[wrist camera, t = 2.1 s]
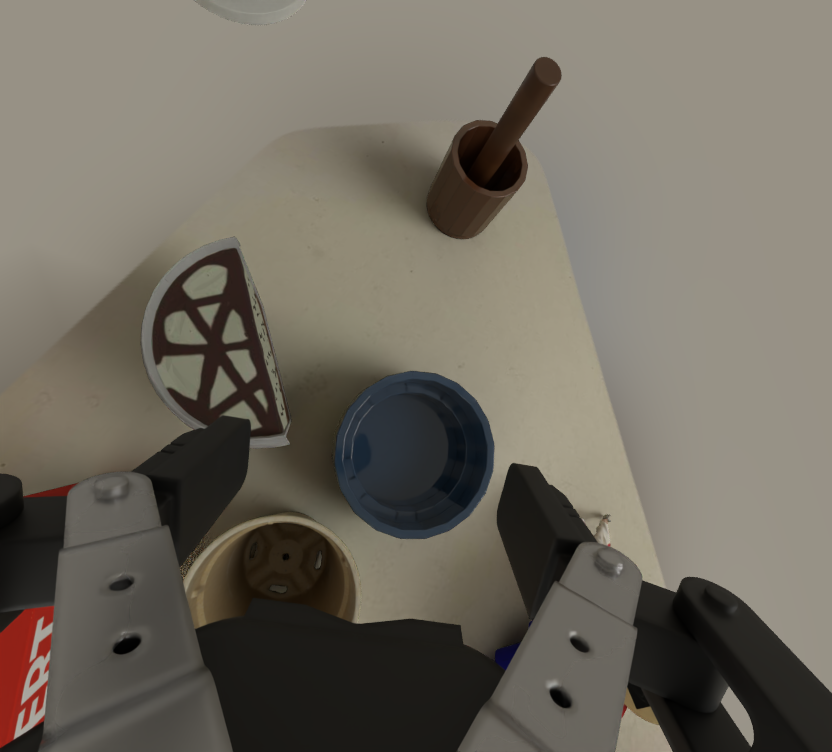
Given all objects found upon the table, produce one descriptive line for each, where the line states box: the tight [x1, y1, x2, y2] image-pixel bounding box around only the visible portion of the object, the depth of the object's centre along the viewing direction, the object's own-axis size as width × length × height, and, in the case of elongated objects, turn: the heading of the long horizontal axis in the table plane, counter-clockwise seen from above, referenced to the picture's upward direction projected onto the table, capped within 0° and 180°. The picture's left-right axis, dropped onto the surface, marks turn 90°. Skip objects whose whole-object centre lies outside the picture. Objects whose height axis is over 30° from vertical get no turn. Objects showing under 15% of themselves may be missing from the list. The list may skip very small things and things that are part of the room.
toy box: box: [0, 483, 78, 748], centre depth 20 cm, size 18×4×12 cm, turn 175°
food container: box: [141, 237, 292, 449], centre depth 25 cm, size 12×6×10 cm, turn 15°
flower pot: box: [183, 512, 362, 629], centre depth 25 cm, size 9×9×9 cm
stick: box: [466, 57, 561, 188], centre depth 29 cm, size 2×2×14 cm
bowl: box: [332, 371, 494, 539], centre depth 30 cm, size 12×12×5 cm
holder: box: [427, 120, 528, 239], centre depth 33 cm, size 6×6×7 cm
